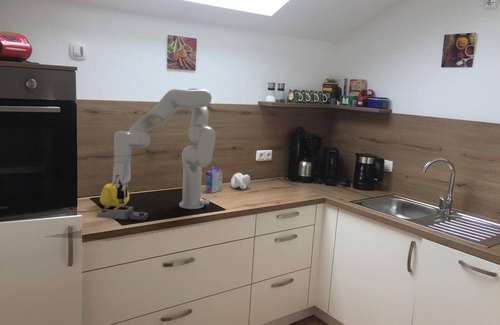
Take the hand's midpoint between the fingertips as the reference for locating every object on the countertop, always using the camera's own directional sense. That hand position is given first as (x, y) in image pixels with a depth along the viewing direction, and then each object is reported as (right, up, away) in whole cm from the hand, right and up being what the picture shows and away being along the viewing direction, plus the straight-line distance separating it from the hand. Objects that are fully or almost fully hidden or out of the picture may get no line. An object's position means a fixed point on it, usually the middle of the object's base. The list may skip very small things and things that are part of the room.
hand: (122, 197), depth 191 cm
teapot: (-9, -6, +17) cm, 20 cm away
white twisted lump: (+53, 0, +68) cm, 86 cm away
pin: (0, -3, 0) cm, 3 cm away
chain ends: (0, -9, +2) cm, 9 cm away
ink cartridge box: (+37, -1, +58) cm, 68 cm away
